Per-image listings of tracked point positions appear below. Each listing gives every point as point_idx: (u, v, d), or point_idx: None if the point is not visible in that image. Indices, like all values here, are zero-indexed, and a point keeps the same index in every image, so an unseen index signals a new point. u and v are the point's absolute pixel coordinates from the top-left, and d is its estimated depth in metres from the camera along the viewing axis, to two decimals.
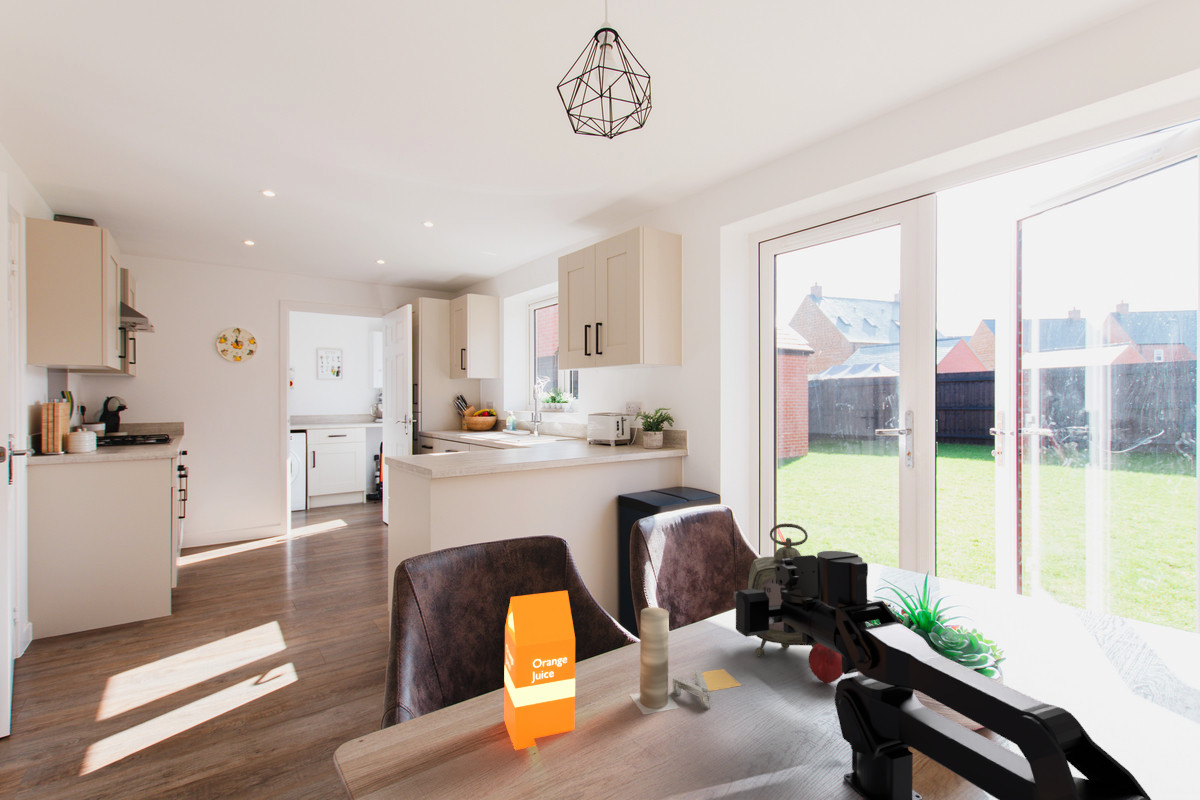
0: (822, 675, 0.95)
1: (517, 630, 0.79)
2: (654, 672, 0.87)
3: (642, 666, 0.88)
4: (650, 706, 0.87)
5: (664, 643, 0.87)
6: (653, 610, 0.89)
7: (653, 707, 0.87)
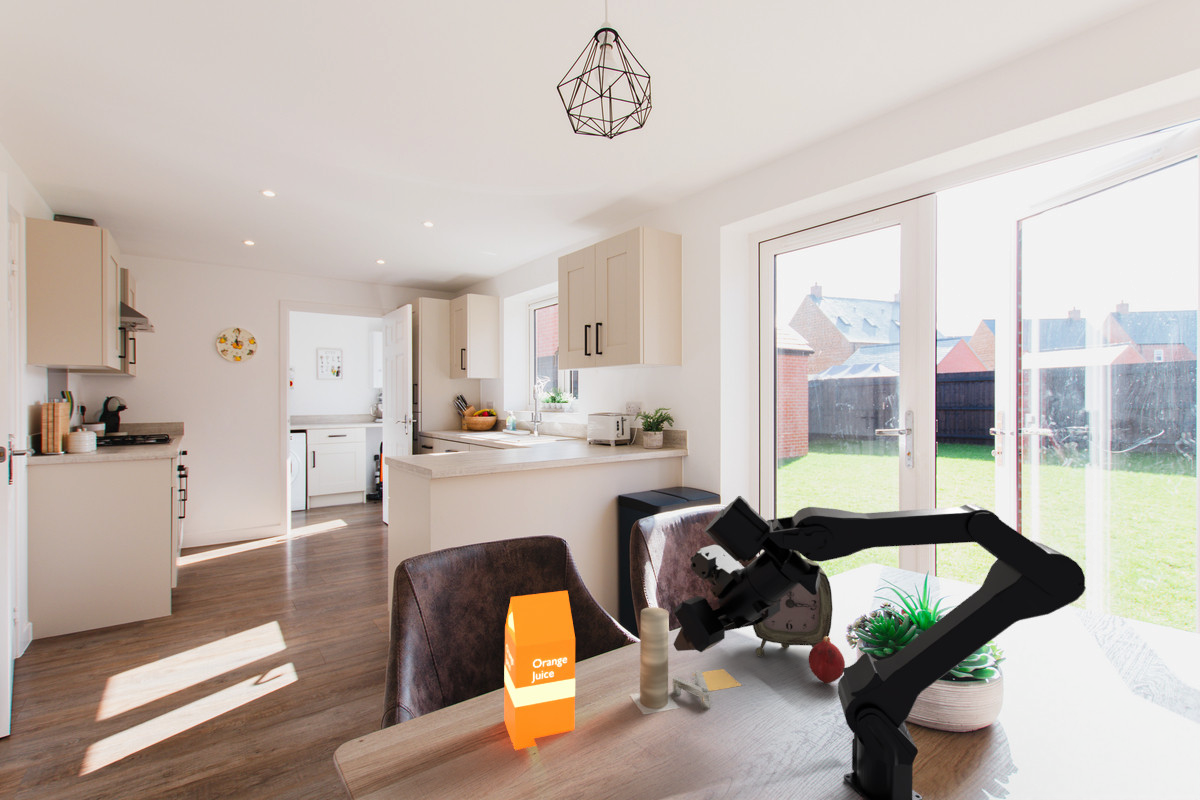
0: (822, 675, 0.95)
1: (517, 630, 0.79)
2: (654, 672, 0.87)
3: (642, 666, 0.88)
4: (650, 706, 0.87)
5: (664, 643, 0.87)
6: (653, 610, 0.89)
7: (653, 707, 0.87)
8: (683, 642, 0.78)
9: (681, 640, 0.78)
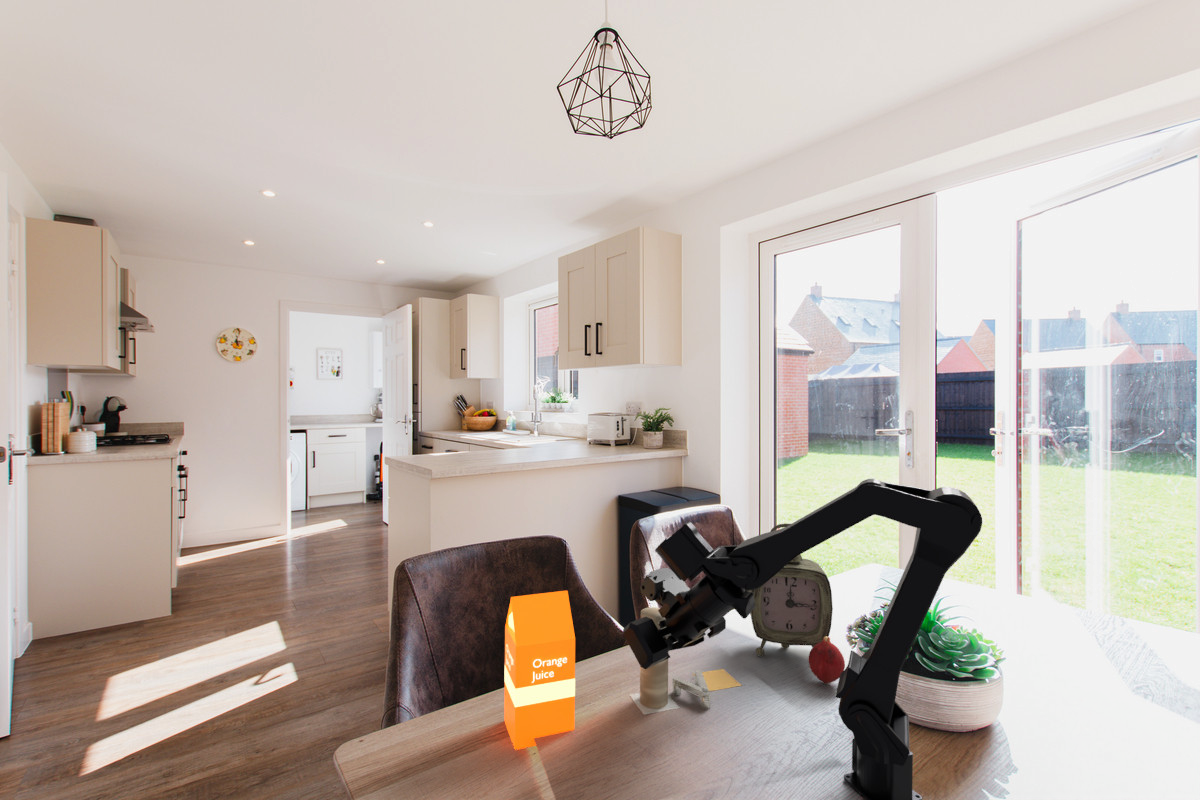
0: (822, 675, 0.95)
1: (517, 630, 0.79)
2: (654, 672, 0.87)
3: None
4: (650, 706, 0.87)
5: None
6: (653, 610, 0.89)
7: (653, 707, 0.87)
8: None
9: None
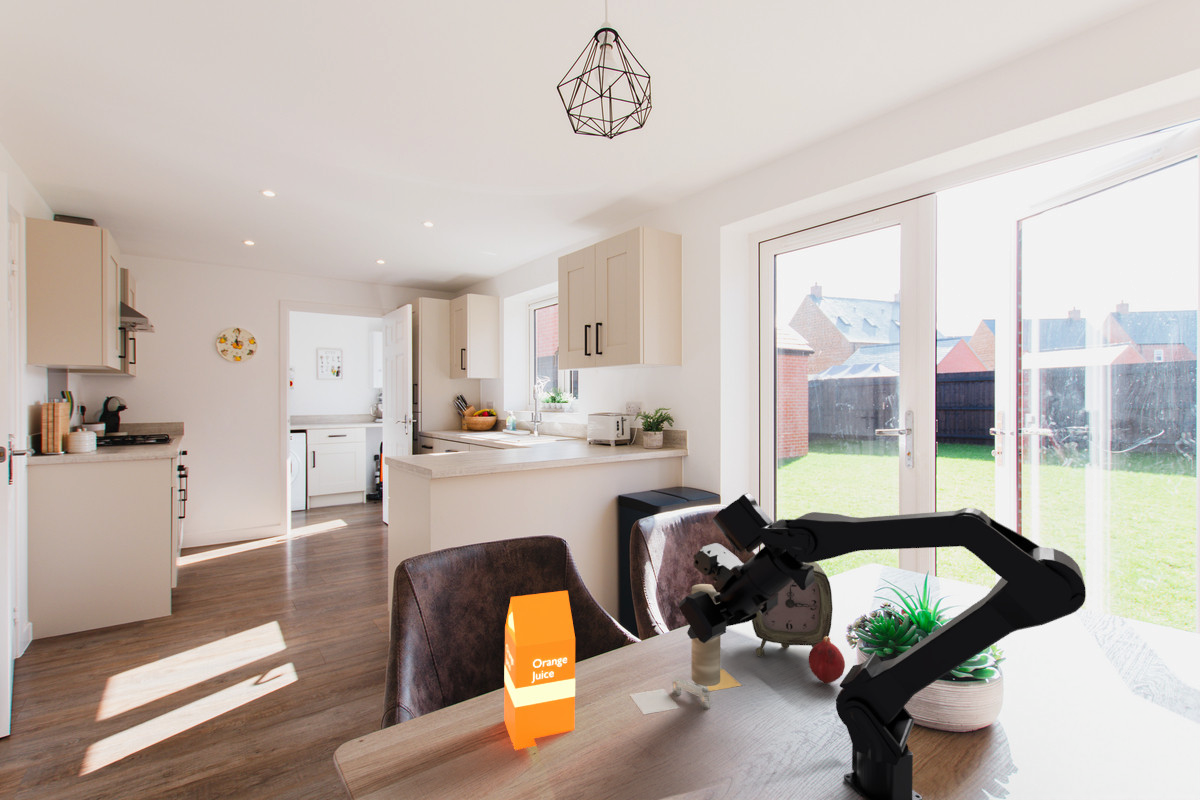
0: (822, 675, 0.95)
1: (517, 630, 0.79)
2: (707, 649, 0.85)
3: (695, 643, 0.86)
4: (703, 683, 0.85)
5: None
6: (704, 587, 0.88)
7: (706, 684, 0.85)
8: None
9: None
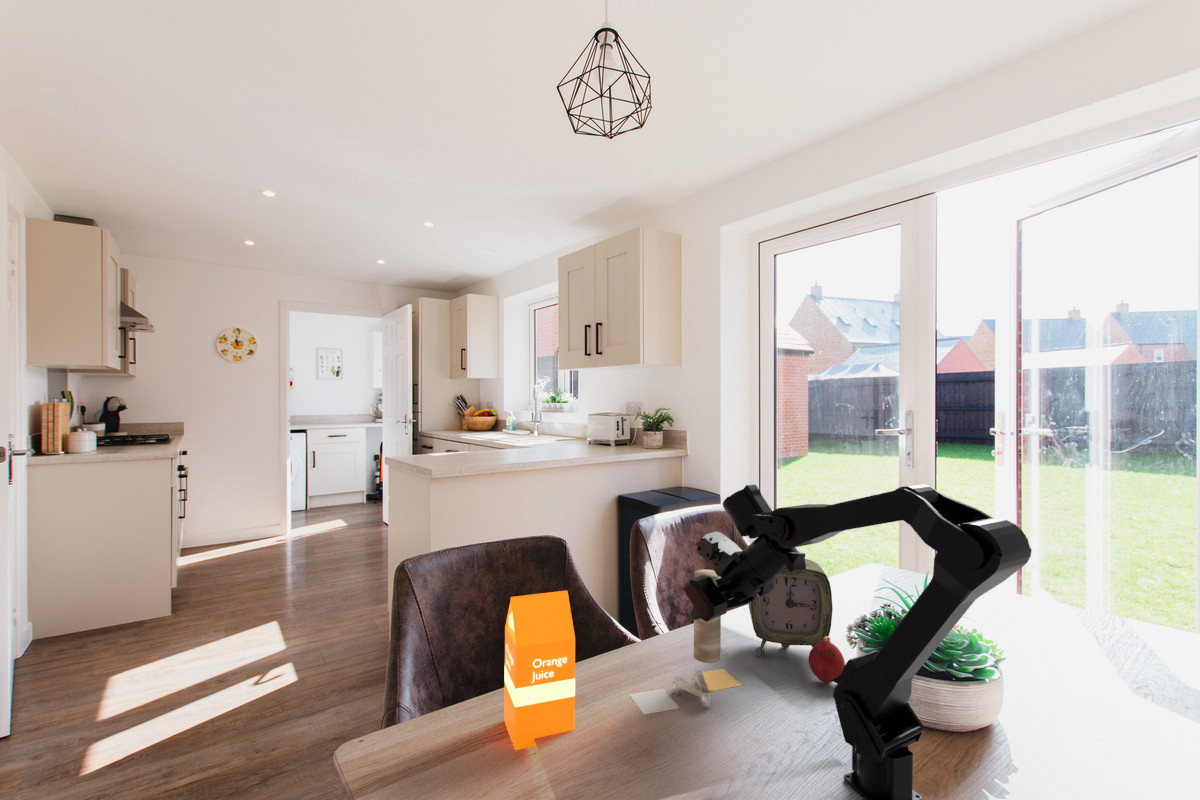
0: (822, 674, 0.95)
1: (517, 630, 0.79)
2: (708, 629, 0.92)
3: (697, 623, 0.93)
4: (705, 661, 0.93)
5: None
6: (706, 572, 0.95)
7: (708, 661, 0.92)
8: None
9: (697, 610, 0.92)
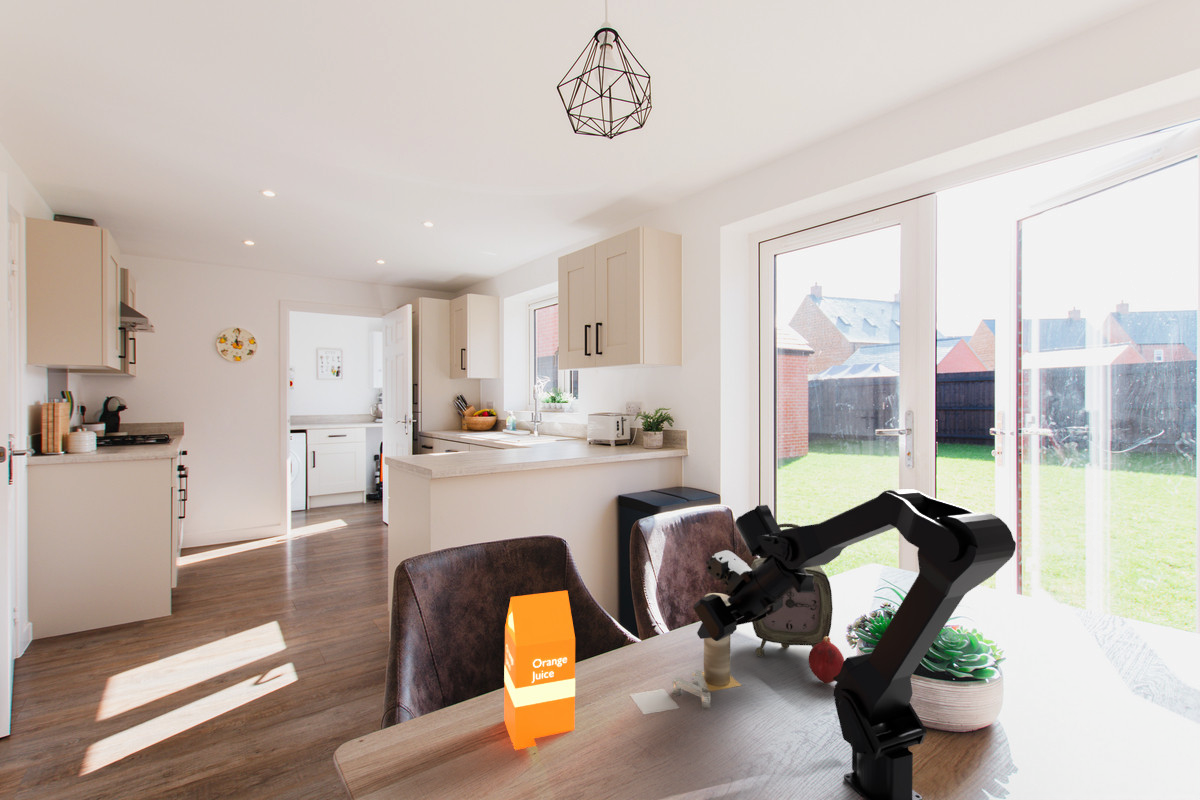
0: (822, 675, 0.95)
1: (517, 630, 0.79)
2: (718, 652, 0.94)
3: (707, 647, 0.95)
4: (715, 684, 0.94)
5: None
6: None
7: (717, 685, 0.94)
8: (706, 631, 0.92)
9: (704, 629, 0.93)
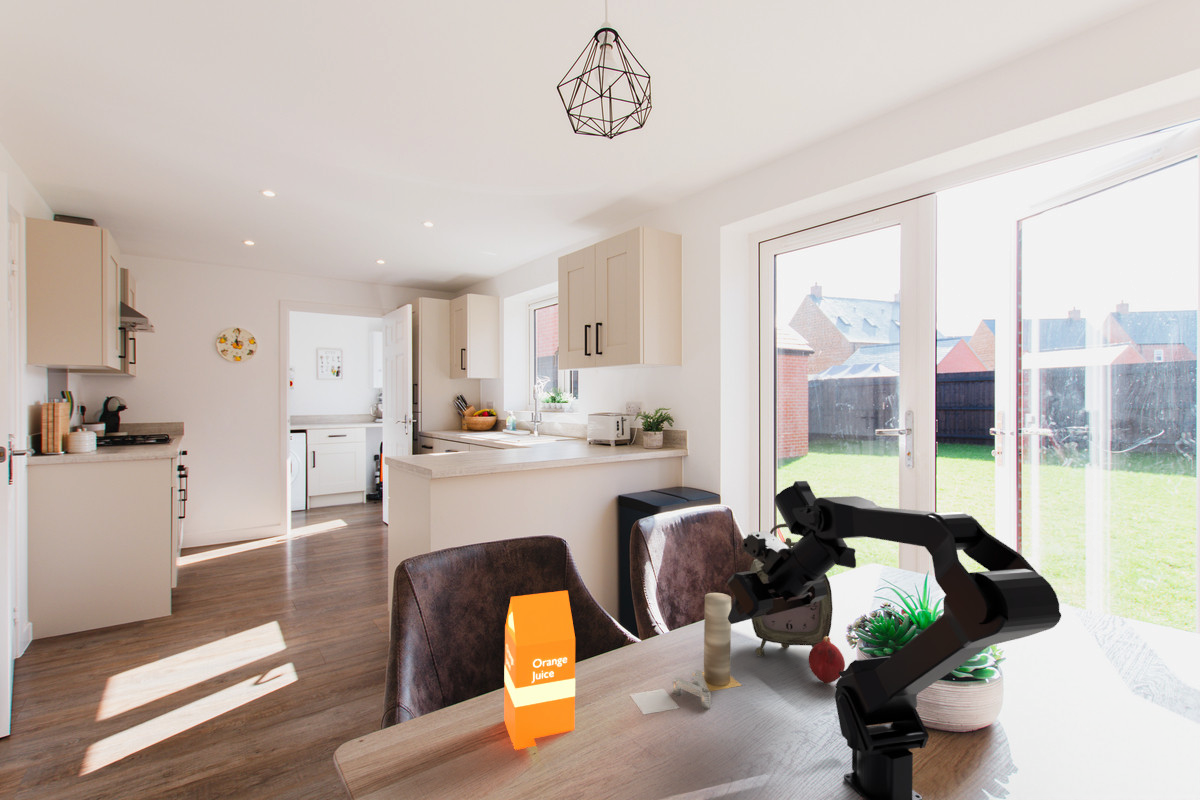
0: (822, 675, 0.95)
1: (517, 630, 0.79)
2: (719, 652, 0.94)
3: (707, 647, 0.95)
4: (715, 684, 0.94)
5: (728, 625, 0.94)
6: (716, 595, 0.97)
7: (717, 684, 0.94)
8: (736, 614, 0.87)
9: (734, 613, 0.88)
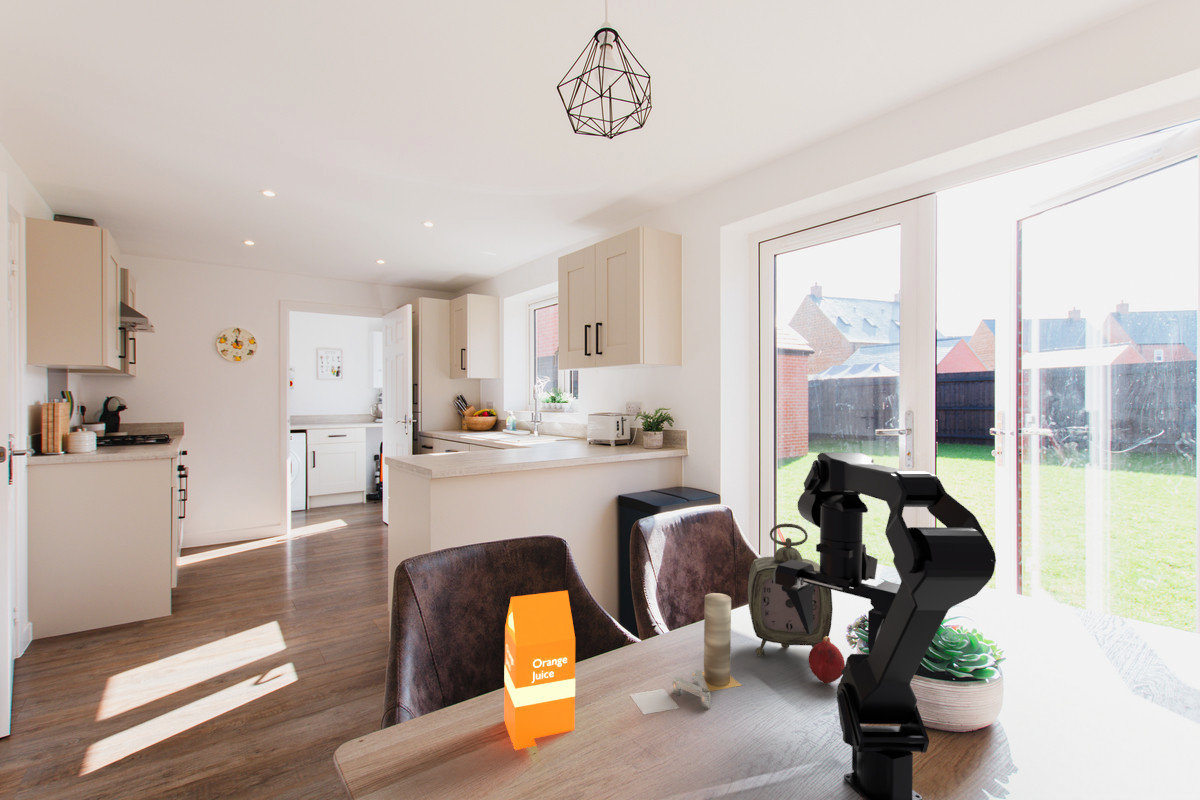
0: (822, 675, 0.95)
1: (517, 630, 0.79)
2: (719, 653, 0.93)
3: (707, 647, 0.95)
4: (715, 684, 0.94)
5: (728, 626, 0.94)
6: (716, 596, 0.96)
7: (718, 685, 0.94)
8: None
9: None
